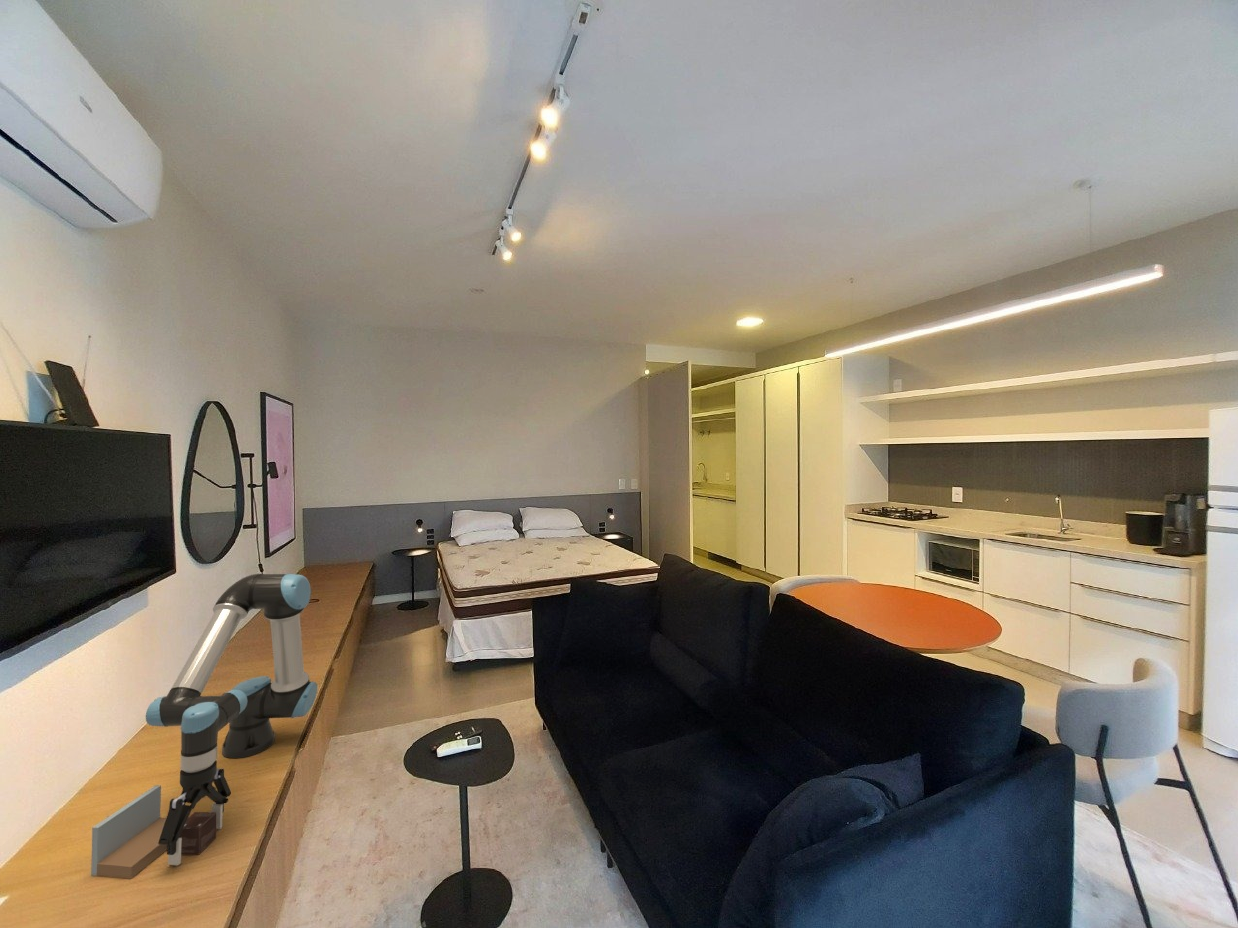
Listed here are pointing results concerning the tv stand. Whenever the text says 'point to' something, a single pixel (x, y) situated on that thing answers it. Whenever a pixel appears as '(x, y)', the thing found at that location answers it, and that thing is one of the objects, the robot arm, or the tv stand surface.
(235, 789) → the tv stand surface
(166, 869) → the tv stand surface
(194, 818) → the box
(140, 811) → the board
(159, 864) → the tv stand surface
